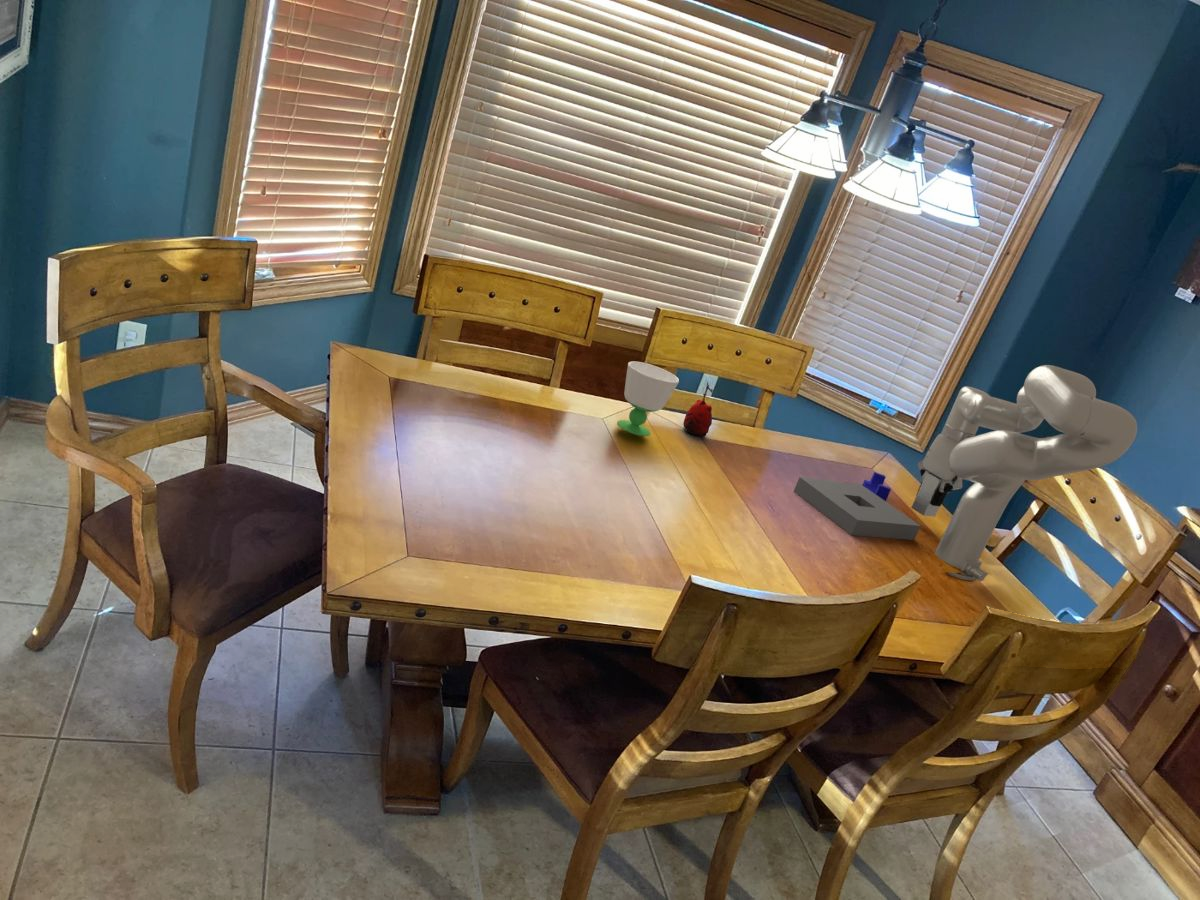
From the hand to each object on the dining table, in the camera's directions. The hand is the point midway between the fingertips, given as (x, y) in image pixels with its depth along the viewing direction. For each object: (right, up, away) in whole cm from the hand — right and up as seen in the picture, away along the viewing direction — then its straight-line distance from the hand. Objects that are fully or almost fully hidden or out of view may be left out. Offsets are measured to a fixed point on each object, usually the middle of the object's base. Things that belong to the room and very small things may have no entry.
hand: (928, 500), depth 241 cm
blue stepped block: (-12, -1, +11) cm, 16 cm away
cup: (-75, +18, +1) cm, 77 cm away
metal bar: (-1, -3, +1) cm, 3 cm away
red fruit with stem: (-58, +18, +16) cm, 63 cm away
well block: (-21, -3, -8) cm, 23 cm away
